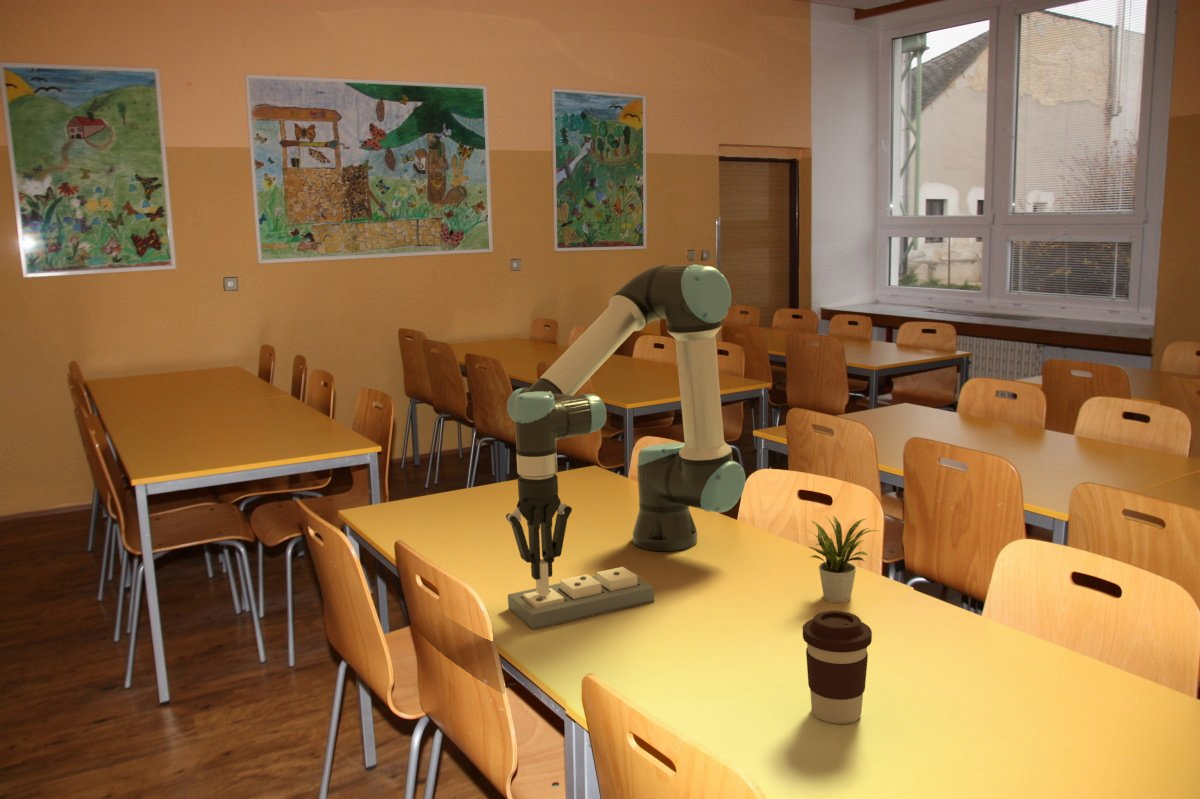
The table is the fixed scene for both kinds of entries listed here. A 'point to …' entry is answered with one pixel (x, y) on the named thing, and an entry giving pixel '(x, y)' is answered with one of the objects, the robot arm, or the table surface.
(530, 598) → the key three
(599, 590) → the key two
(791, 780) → the table surface
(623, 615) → the table surface
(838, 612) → the coffee cup
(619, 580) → the key one
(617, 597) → the keypad
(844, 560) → the house plant
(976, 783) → the table surface
